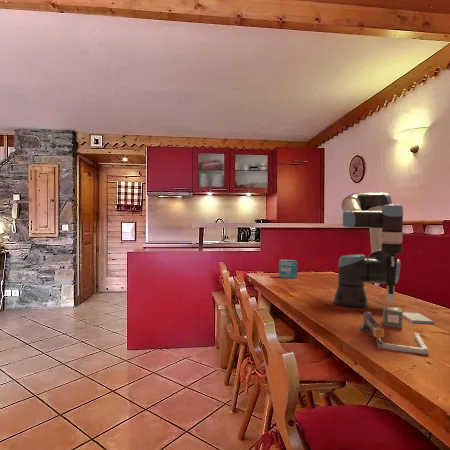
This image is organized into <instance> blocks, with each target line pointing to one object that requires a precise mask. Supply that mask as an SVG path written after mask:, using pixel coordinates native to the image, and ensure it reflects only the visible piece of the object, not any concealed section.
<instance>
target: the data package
mask: <svg viewBox="0 0 450 450" xmlns="http://www.w3.org/2000/svg"><path fill="white" fill-rule="evenodd" d="M278 261H279V262H278V276H279V278H281V279H296V278H298V261H297V260H294V259H280V260H278Z"/></svg>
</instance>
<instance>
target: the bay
mask: <svg viewBox="0 0 450 450" xmlns="http://www.w3.org/2000/svg"><path fill="white" fill-rule="evenodd" d="M413 337H414V340H415V341H416V343H417V345H418V347H417V346H411V345H410V346H409V345H404V344H395V343H387V342H383V341H382V338H381V337H375V339H376V344H377V348H378V349H380V350H388V351H396V352H403V353H411V354H418V355H424V356H429V349H428V348H427V345H426V344H425V342H424V340H423V338H422V337H421V335H420V333H419V332H414V334H413Z"/></svg>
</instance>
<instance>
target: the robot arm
mask: <svg viewBox="0 0 450 450" xmlns="http://www.w3.org/2000/svg"><path fill="white" fill-rule="evenodd" d="M392 203H393V201H392V197H391V195H390V194H389V193H387V192H382V191H378V192H354V193H351V194H349V195H347V196H345V198H344V199H343V200H342V201H341V204H340V205H341V210H342V226H343V227H344V228H351V229H353V228H361V229H364V228H365V229H366V228H367V229H368V228H369V237H370V250H371V253H370V254H369V255H368V257H366V255H365V254H363V253H360V254H354V253H353V254H346V255H341V256H340V257H339V259H338V264H337V267H338V273H337V274H338V276H337V277H338V278H337V288H336V291H335V294H334V296H333V303H334V304H336V305H339V306H340V307H341V306H343V307H348V308H349V307H350V308H365V307H368V305H369V300H368V296H367V294H366V290H365V283H368V284H380V285H383V284H385V286H386V302H388V303H395V291H396V290H395V289H396V287H395V286H396V285H397V283H398V281H399V279H400V273H401V259H399V258H398V257H396V254H402V252H403V244H402V243H403V226H404V225H403V220H404V207H403V206H402V204H392Z"/></svg>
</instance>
